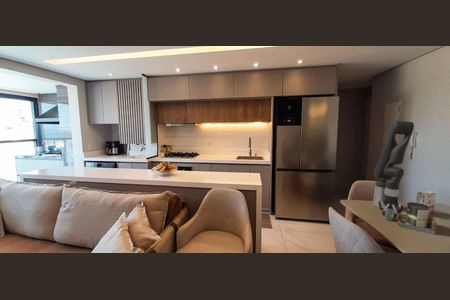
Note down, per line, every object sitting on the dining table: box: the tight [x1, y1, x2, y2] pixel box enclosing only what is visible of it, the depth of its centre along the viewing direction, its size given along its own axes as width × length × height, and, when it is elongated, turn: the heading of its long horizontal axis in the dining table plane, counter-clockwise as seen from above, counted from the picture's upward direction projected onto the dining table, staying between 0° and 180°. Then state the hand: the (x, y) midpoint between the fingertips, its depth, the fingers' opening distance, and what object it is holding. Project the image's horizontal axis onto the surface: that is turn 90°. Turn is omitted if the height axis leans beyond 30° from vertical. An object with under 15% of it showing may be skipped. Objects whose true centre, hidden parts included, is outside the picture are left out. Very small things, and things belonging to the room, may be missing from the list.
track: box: [397, 213, 436, 235], centre depth 129 cm, size 16×18×2 cm
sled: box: [385, 208, 437, 232], centre depth 131 cm, size 23×15×8 cm, turn 54°
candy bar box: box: [415, 190, 436, 215], centre depth 144 cm, size 11×5×16 cm, turn 101°
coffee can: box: [405, 201, 429, 228], centre depth 128 cm, size 10×10×14 cm
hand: (389, 216), depth 137 cm, fingers open, 5 cm apart
